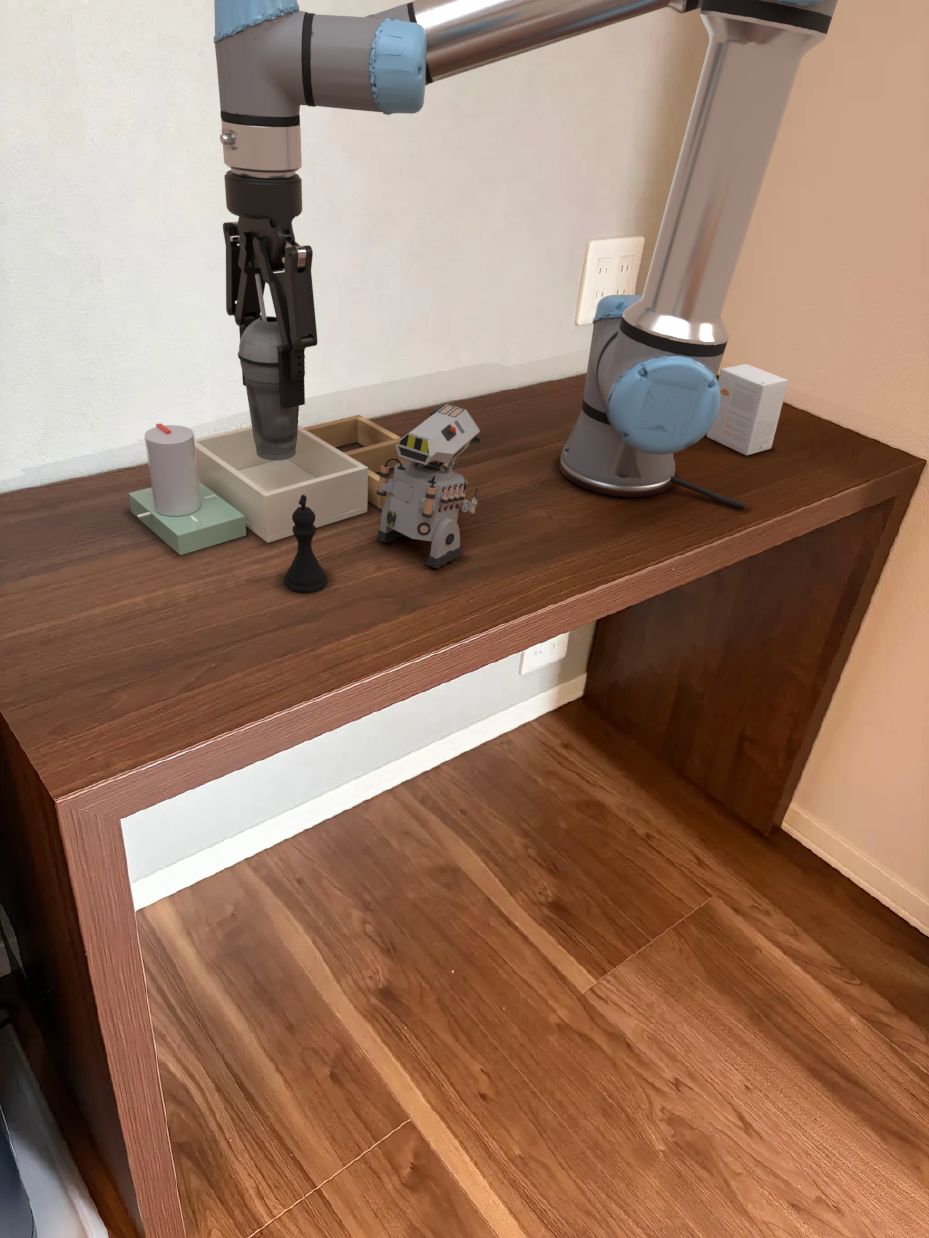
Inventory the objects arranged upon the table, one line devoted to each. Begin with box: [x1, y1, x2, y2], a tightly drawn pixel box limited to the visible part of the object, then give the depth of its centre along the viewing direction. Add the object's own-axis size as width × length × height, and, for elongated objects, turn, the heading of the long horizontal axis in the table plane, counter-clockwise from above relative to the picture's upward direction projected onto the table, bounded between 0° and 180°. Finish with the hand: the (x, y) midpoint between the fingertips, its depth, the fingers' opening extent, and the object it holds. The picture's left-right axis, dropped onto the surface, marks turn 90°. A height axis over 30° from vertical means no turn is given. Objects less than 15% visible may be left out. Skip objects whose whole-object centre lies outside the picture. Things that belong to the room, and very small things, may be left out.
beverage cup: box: [237, 274, 306, 461], centre depth 102 cm, size 7×7×20 cm
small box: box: [706, 363, 789, 456], centre depth 133 cm, size 8×6×10 cm
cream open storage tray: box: [194, 425, 369, 544], centre depth 109 cm, size 18×14×6 cm
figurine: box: [376, 403, 481, 569], centre depth 100 cm, size 9×12×15 cm
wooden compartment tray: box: [302, 414, 448, 510], centre depth 117 cm, size 20×10×4 cm, turn 41°
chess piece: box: [283, 495, 328, 594], centre depth 92 cm, size 4×4×10 cm
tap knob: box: [144, 422, 201, 516], centre depth 99 cm, size 5×5×9 cm
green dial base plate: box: [128, 481, 247, 556], centre depth 103 cm, size 12×10×3 cm
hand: (273, 394), depth 103 cm, fingers closed on beverage cup, 7 cm apart
